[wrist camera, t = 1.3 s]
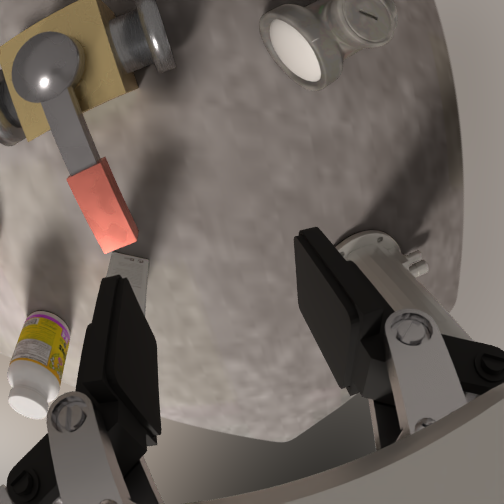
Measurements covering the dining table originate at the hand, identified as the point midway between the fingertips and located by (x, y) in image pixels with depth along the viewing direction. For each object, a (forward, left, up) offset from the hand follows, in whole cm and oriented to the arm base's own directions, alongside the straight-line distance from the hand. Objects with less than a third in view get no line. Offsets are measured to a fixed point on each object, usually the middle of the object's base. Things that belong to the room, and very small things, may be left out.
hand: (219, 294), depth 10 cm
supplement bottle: (+26, +14, -23) cm, 37 cm away
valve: (+7, -11, -22) cm, 26 cm away
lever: (+7, -5, -14) cm, 16 cm away
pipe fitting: (-15, -8, -23) cm, 29 cm away
